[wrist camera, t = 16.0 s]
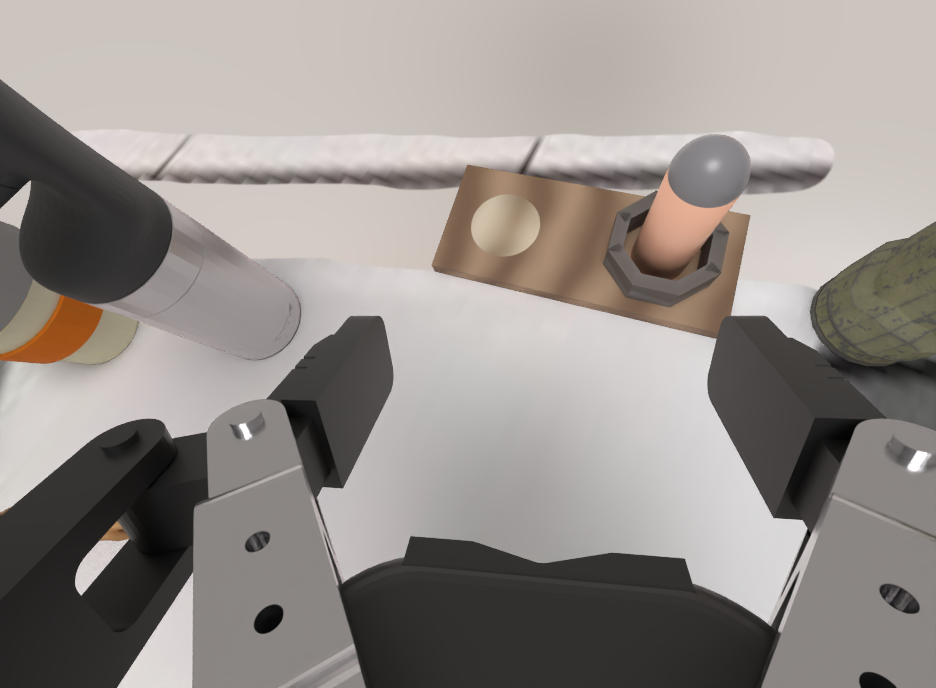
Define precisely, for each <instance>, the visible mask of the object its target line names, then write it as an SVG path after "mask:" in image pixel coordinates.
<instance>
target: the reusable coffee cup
mask: <svg viewBox="0 0 936 688" xmlns="http://www.w3.org/2000/svg"><path fill="white" fill-rule="evenodd" d="M19 233H20V229H18V228H17V227H15V226H13V225H10V224H6V223H4V222H1V221H0V360H5V361H17V362H29V363H41V364H45V363H53V362H56V361H64V362H75V363H86V364H101V363H104V362H107V361H110V360H112V359H113V358H115V357H116V356H118V355H119V354H120V353H122V352H123V351H124V349H125V348H126V347H127V346H128V345H129V343H130V342H131V341H132V339H133V337H134V335H135V332H136V329H137V326H138V321H135V320H133V319H130V318H127V317H124V316H120V315H118V314H115V313H112V312H109V311H106V310H103V309H100V308H97V307H95V306H92V305H89V304H86V303H83V302H80V301H77V300H75V299H72V298H69V297H66V296H63V295H60V294H58V293H55V292H53V291H50V290H48V289H47V288H45V287H43V286H42V285H40V284H39V283H37V282H36V281H35V280H34V279H33V278H32V277H31V276H30V275H29V273H28V272H27V271H26V269H25V267H24V265H23V262H22V259H21V256H20V251H19Z"/></svg>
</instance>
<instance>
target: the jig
mask: <svg viewBox="0 0 936 688" xmlns="http://www.w3.org/2000/svg"><path fill="white" fill-rule="evenodd" d="M657 192H658V191H655V192H653V193H651V194H650V195H648V196H646V197H645V196H639V195H634V194H628V193H623V192H617V191H612V190H606V189H600V188H595V187H589V186H583V185H578V184H572V183H567V182H561V181H555V180H550V179H544V178H538V177H533V176H527V175H522V174H516V173H510V172H505V171H499V170H494V169H488V168H482V167H477V166H471V165H467V168H466V170H465V173H464V176H463V179H462V182H461V184H460V187H459V190H458V193H457V196H456V198H455V201H454V204H453V207H452V210H451V212H450V215H449V218H448V221H447V224H446V227H445V229H444V232H443V235H442V238H441V241H440V243H439V246H438V249H437V252H436V255H435V257H434V260H433V263H432V266H433V268H434V270H435V271H436V272H441V273H445V274H449V275H453V276H457V277H462V278H466V279H470V280H474V281H478V282H482V283H487V284H491V285H495V286H499V287H503V288H508V289H512V290H516V291H520V292H524V293H528V294H533V295H537V296H541V297H545V298H549V299H553V300H558V301H562V302H566V303H570V304H574V305H579V306H583V307H587V308H591V309H595V310H599V311H604V312H608V313H612V314H616V315H620V316H625V317H629V318H633V319H637V320H641V321H645V322H650V323H654V324H658V325H662V326H666V327H670V328H675V329H679V330H683V331H687V332H691V333H696V334H700V335H704V336H708V337H712V338H716V339H717V336H718V332H719V328H720V325H721V322H722V320H723V319H724V318H725V317H726V316H731V311H732V306H733V301H734V296H735V291H736V285H737V280H738V275H739V270H740V265H741V260H742V255H743V250H744V244H745V240H746V235H747V230H748V224H749V220H750V215H746V214H740V213H735V212H729V211H728V212H727V214H726V215H725V216H724V217H723V219H722V220H721V221H720V223H719V224H718V225H717V227H716V228H715V229H714V231H713V232H712V233H711V235H710V236H709V237H708V239H707V240H706V241H705V243H704V244H703V245H702V247H701V248H700V249H699V251H698V252H697V253H696V255H695V256H694V257H693V259H692V260H691V261H690V263H689V264H688V265H687V267H686V268H685V269H684V270H683V272H682V273H681V274H680V275H679V276H678V277H676V278H674V279H672V280H669V279H664V278H660V277H655V276H650V275H646V274H642V273H641V272H640V271H639V269H638V268H637V266H636V265H635V264H634V262H633V261H632V260H631V251H632V248H633V246H634V244H635V242H636V239H637V237H638V235H639V233H640V230H641V228H642V226H643V224H644V221H645V219H646V217H647V215H648V213H649V210H650V208H651V206H652V204H653V201H654V199H655V197H656V195H657Z"/></svg>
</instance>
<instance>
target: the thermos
mask: <svg viewBox="0 0 936 688" xmlns="http://www.w3.org/2000/svg"><path fill="white" fill-rule="evenodd" d="M810 313H811V319H812V325H813V328H814V330H815V331H816V333H817V335H818V337H819V339H820V340H821V341H822V342H823V343H824V344H825V345H826V346H827V347H828V348H829V349H830V350H831V351H832V352H833V353H835V354H837V355H838V356H840V357H842V358H844V359H845V360H847V361H849V362H853V363H857V364H860V365H864V366H887V365H891V364H894V363H897V362H901V361H913V360H917V359H921V358H925V357H928V356H932V355H936V222H934V223H932V224H931V225H929V226H927V227H926V228H924V229H922V230H921V231H919V232H918V233H916V234H914V235H912V236H911V237H909V238H906V239H901V240H896V241H891V242H886V243H885V244H883V245H882V246H880V247H878V248H877V249H875V250H874V251H872V252H870V253H869V254H867V255H866V256H864V257H863V258H861V259H859V260H858V261H856V262H854V263H853V264H851V265H850V266H849V267H847V268H846V269H844V270H843V271H841V272H840V273H839V274H838V275H837V276H836V277H834V278H832V279H831V280H830V281H828V282H827V283H826V284H824V285H823V286H821V287H820V289H819V290H818V292H817V293H816V295H815V296H814V298H813V301H812V306H811V311H810Z"/></svg>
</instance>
